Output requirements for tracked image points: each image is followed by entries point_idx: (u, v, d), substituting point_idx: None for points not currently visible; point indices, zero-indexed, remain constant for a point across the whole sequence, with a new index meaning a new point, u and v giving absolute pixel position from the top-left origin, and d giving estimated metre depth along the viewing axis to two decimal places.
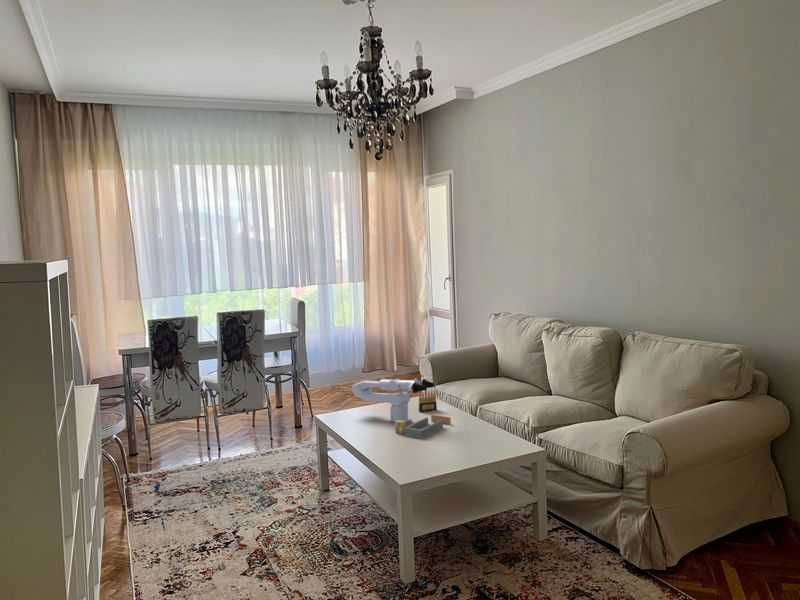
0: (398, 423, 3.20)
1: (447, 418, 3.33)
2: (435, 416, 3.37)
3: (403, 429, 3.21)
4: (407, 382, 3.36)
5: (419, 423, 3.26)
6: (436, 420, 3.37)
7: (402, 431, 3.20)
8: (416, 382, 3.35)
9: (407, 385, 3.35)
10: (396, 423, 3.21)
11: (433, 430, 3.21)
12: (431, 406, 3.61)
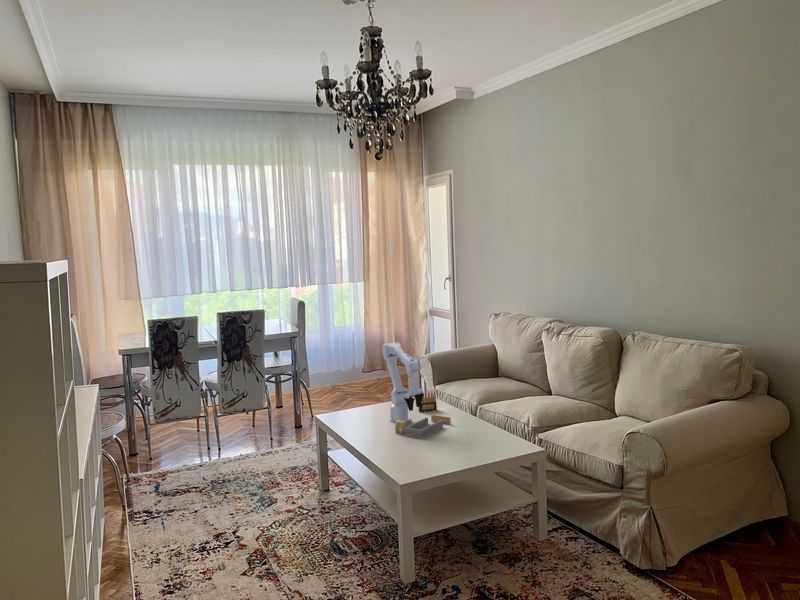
0: (398, 423, 3.20)
1: (447, 418, 3.33)
2: (435, 416, 3.37)
3: (403, 429, 3.21)
4: (415, 385, 3.24)
5: (419, 423, 3.26)
6: (436, 420, 3.37)
7: (402, 431, 3.20)
8: None
9: (412, 386, 3.24)
10: (396, 423, 3.21)
11: (433, 430, 3.21)
12: (431, 406, 3.61)
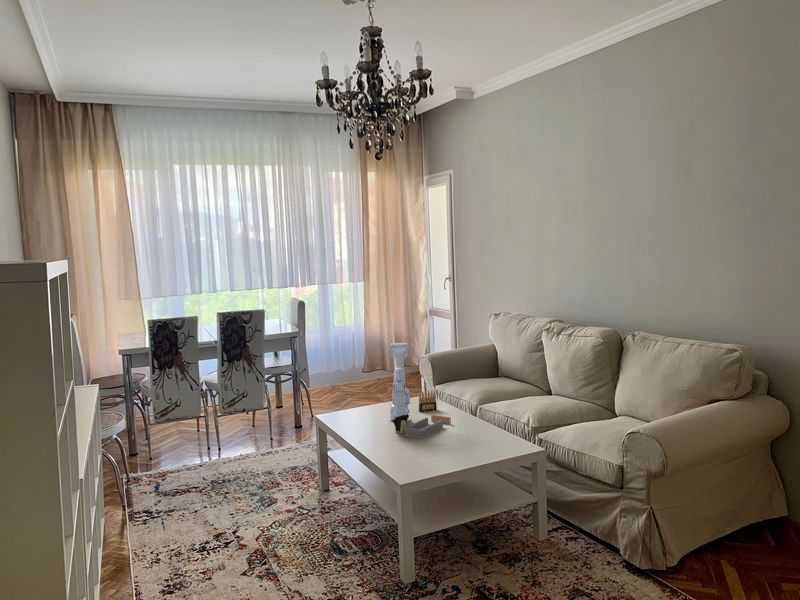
0: None
1: (447, 418, 3.33)
2: (435, 416, 3.37)
3: (403, 429, 3.21)
4: (401, 406, 3.18)
5: (419, 423, 3.26)
6: (436, 420, 3.37)
7: (402, 431, 3.20)
8: None
9: (397, 407, 3.18)
10: None
11: (433, 430, 3.21)
12: (431, 406, 3.61)
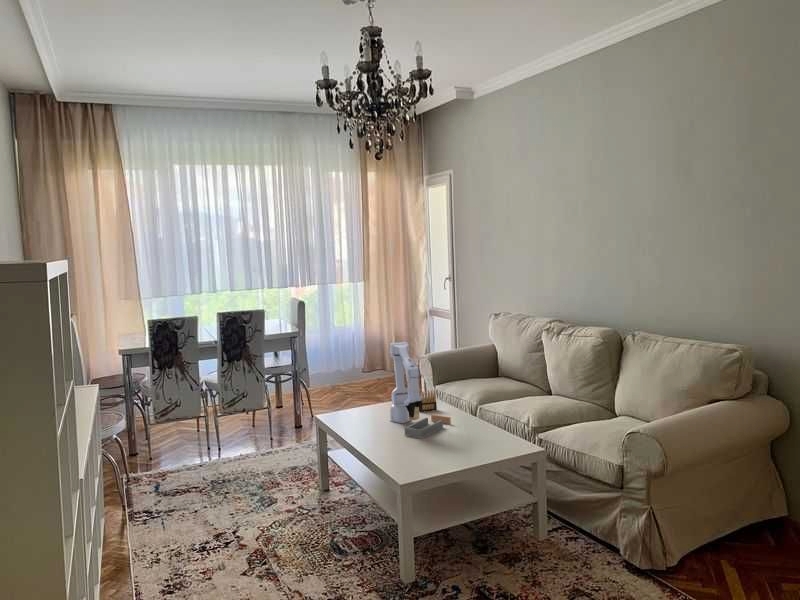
0: None
1: (447, 418, 3.33)
2: (435, 416, 3.37)
3: (416, 415, 3.18)
4: (414, 392, 3.15)
5: (419, 423, 3.26)
6: (436, 420, 3.37)
7: (415, 417, 3.17)
8: None
9: (411, 393, 3.15)
10: None
11: (433, 430, 3.21)
12: (431, 406, 3.61)
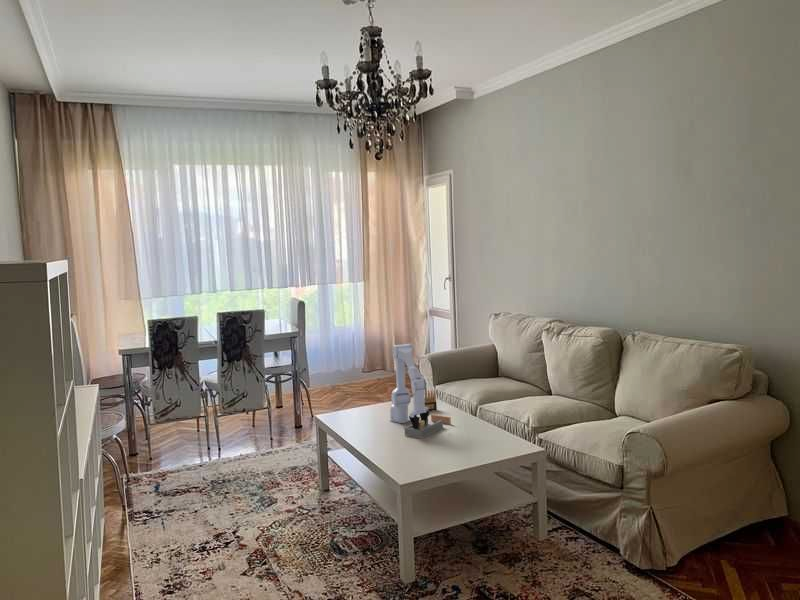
0: None
1: (447, 418, 3.33)
2: (435, 416, 3.37)
3: None
4: (420, 404, 3.15)
5: None
6: (436, 420, 3.37)
7: None
8: None
9: (417, 405, 3.15)
10: None
11: (433, 430, 3.21)
12: (431, 406, 3.61)
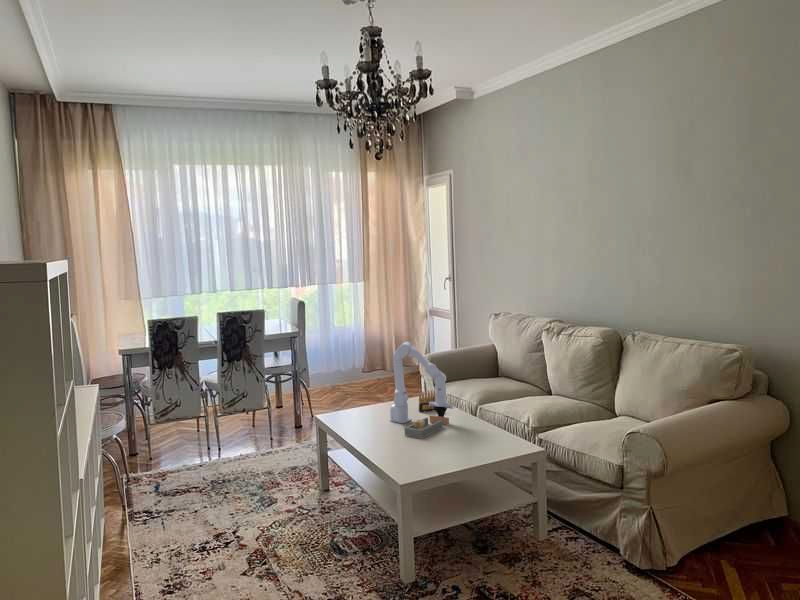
0: (417, 423, 3.17)
1: (445, 419, 3.32)
2: (433, 417, 3.36)
3: None
4: None
5: None
6: (434, 421, 3.36)
7: None
8: None
9: None
10: (415, 423, 3.18)
11: (433, 430, 3.21)
12: (431, 406, 3.61)
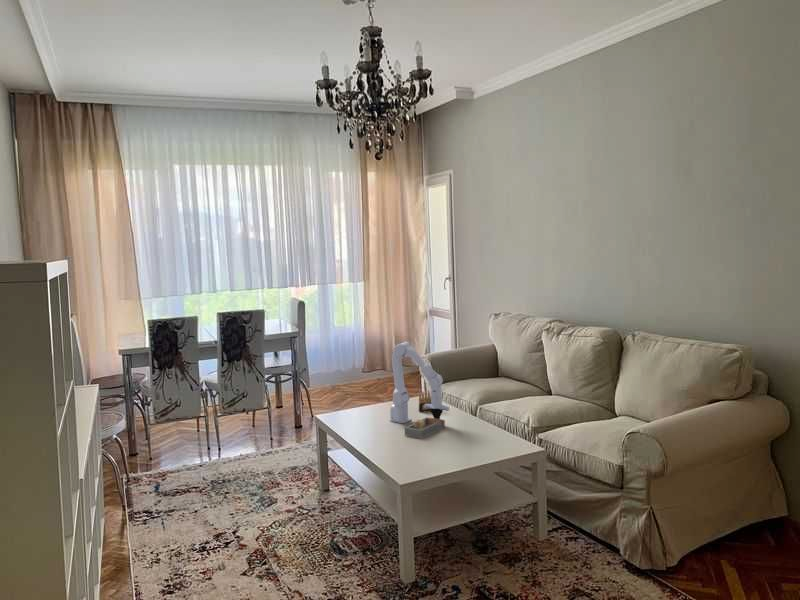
0: (417, 423, 3.17)
1: None
2: (429, 419, 3.32)
3: None
4: (431, 399, 3.31)
5: None
6: (430, 423, 3.32)
7: None
8: None
9: None
10: (415, 423, 3.18)
11: (433, 430, 3.21)
12: None
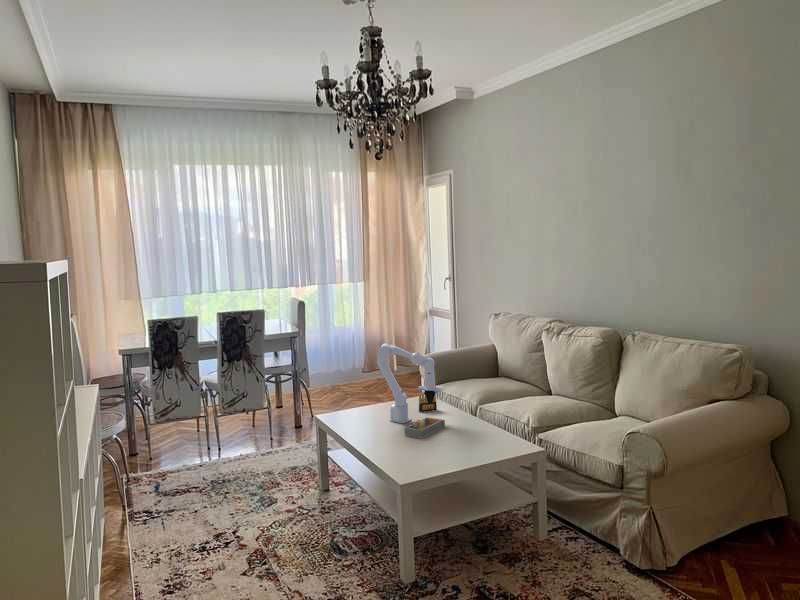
0: (417, 423, 3.17)
1: None
2: (429, 419, 3.33)
3: None
4: None
5: None
6: (430, 423, 3.32)
7: None
8: None
9: None
10: (415, 423, 3.18)
11: (433, 430, 3.21)
12: (431, 406, 3.61)
